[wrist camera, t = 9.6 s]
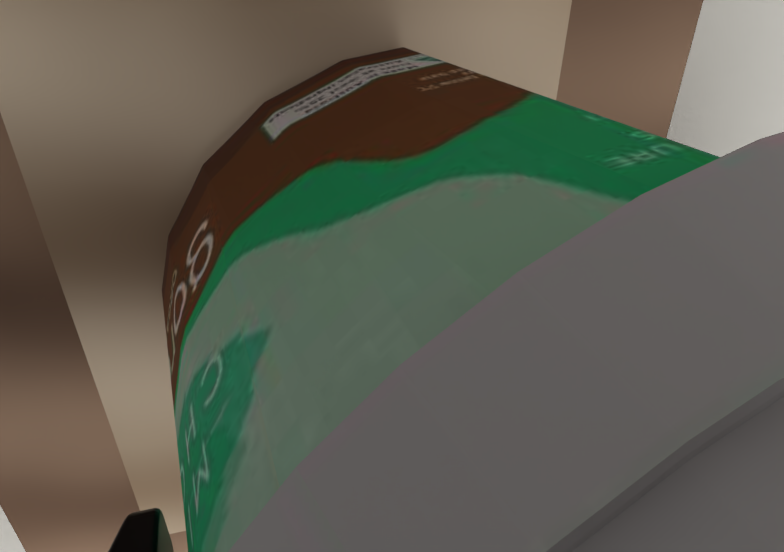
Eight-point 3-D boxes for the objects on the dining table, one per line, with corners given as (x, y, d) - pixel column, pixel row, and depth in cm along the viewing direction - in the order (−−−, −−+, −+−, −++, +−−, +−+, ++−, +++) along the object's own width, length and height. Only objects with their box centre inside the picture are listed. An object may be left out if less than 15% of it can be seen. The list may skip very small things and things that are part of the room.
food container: (-15, -20, 9) (-449, 957, 1) (404, -47, 11) (1251, 243, 3) (164, 536, 16) (269, 1199, 8) (399, 456, 18) (660, 927, 10)
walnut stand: (-418, -509, 8) (-636, -625, 6) (712, -402, 11) (833, -450, 9) (73, 540, 21) (60, 623, 19) (537, 442, 24) (571, 503, 22)
